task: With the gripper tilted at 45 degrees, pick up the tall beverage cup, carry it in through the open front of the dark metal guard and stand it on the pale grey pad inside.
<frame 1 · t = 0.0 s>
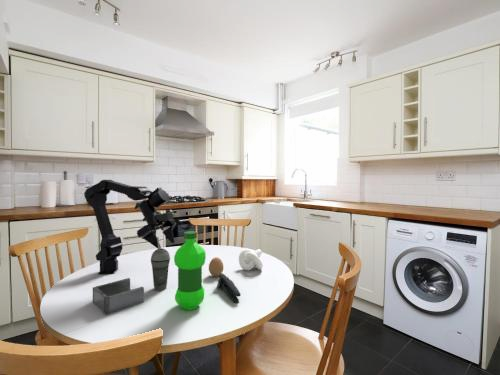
hand: (166, 245, 108), 15 cm above the table, tool tilted 35°, fingers open, 9 cm apart
white rounded lump: (252, 268, 126), on the table
egg: (216, 276, 115), on the table
beverage cup: (160, 288, 101), on the table
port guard: (120, 301, 90), on the table
can opener: (229, 294, 98), on the table
plastic bottle: (189, 306, 88), on the table
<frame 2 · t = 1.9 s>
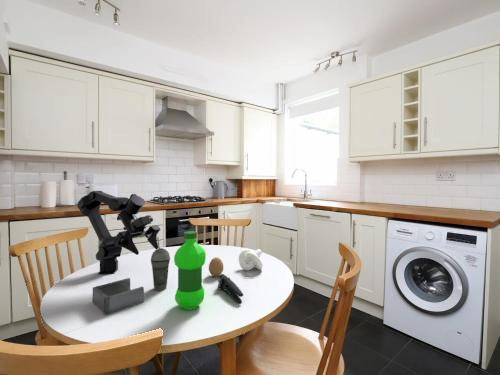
hand: (148, 251, 104), 13 cm above the table, tool tilted 45°, fingers open, 9 cm apart
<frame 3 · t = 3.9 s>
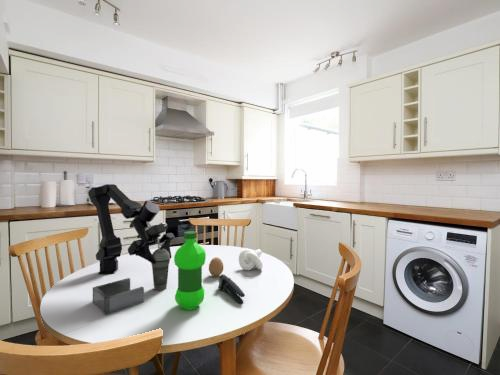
hand: (163, 260, 100), 11 cm above the table, tool tilted 45°, fingers closed on beverage cup, 7 cm apart
beverage cup: (160, 288, 101), on the table, touching gripper
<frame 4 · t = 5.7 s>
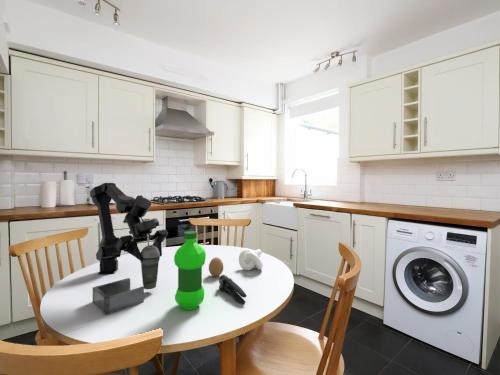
hand: (151, 258, 96), 13 cm above the table, tool tilted 45°, fingers closed on beverage cup, 7 cm apart
beverage cup: (149, 287, 97), point 2 cm above the table, touching gripper
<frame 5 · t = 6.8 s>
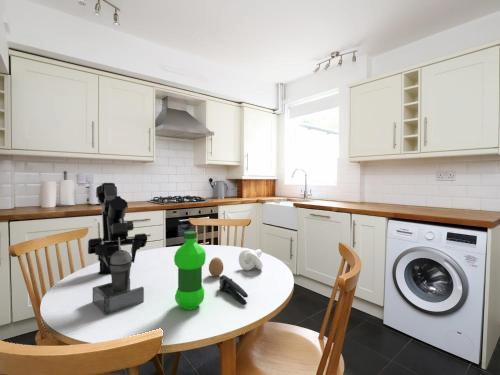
hand: (121, 264, 89), 13 cm above the table, tool tilted 45°, fingers closed on beverage cup, 7 cm apart
beverage cup: (120, 295, 90), point 2 cm above the table, touching gripper
when the fingers open (12 cm above the table, at t = 7.7 s): beverage cup stays where it is, resting on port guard.
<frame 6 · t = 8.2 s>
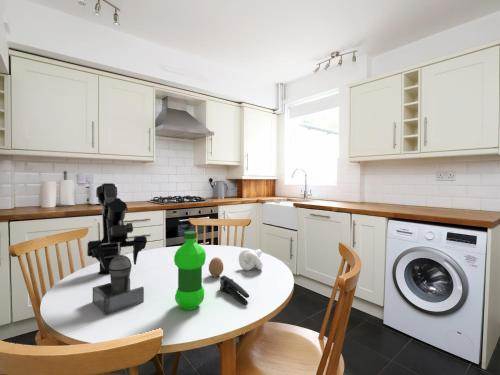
hand: (120, 266, 89), 13 cm above the table, tool tilted 45°, fingers open, 9 cm apart
beverage cup: (120, 300, 90), resting on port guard
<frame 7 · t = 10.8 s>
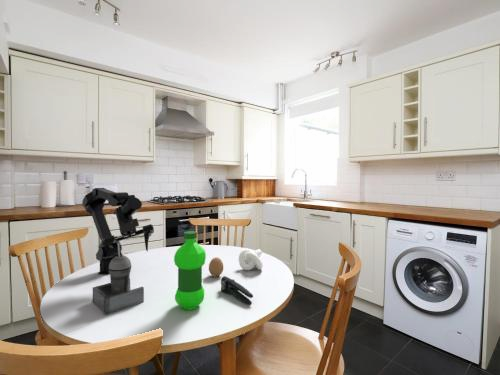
hand: (135, 255, 105), 12 cm above the table, tool tilted 30°, fingers open, 9 cm apart
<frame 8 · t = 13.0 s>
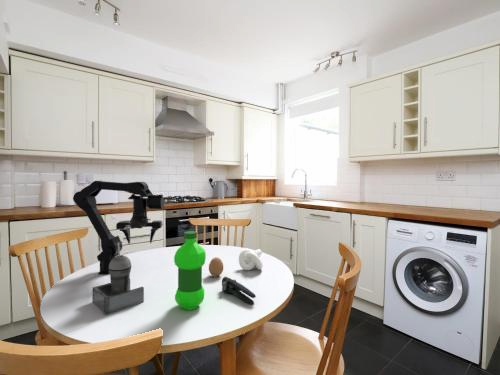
hand: (140, 243, 118), 13 cm above the table, tool pointing down, fingers open, 9 cm apart
at the end: beverage cup 0.2 cm off-centre on the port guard, point 0.1 cm above the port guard's base; beverage cup tilted 0°; the gripper is holding nothing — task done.
